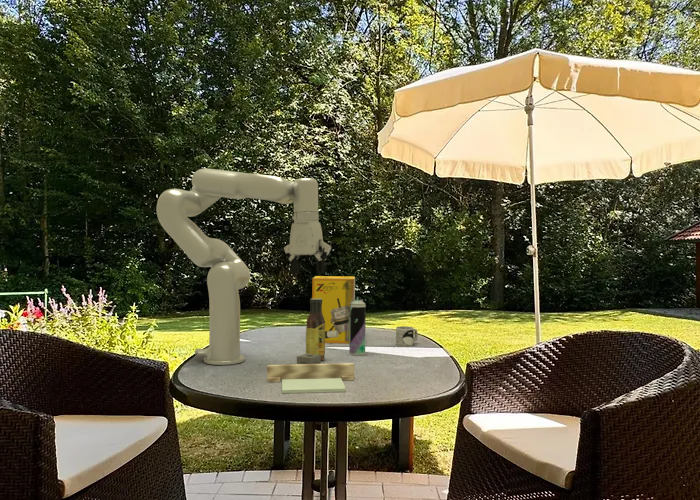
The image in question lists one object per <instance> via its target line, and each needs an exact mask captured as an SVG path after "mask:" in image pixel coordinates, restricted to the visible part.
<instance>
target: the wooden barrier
mask: <svg viewBox="0 0 700 500" xmlns="http://www.w3.org/2000/svg"><path fill="white" fill-rule="evenodd" d="M266 370H267V371H266V381H268V383H280V382H281V381H282V379H325V378H341V379H342V381H343V382H345V381H354V379H355V363H354V362H351V363H350V362H346V363H321V364H297V363H296V364H267V367H266Z"/></svg>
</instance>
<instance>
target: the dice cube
mask: <svg viewBox="0 0 700 500" xmlns="http://www.w3.org/2000/svg"><path fill="white" fill-rule="evenodd" d="M296 364H322V360H321V355H315V354H308V353H307V354H306V353H304V354H299V355H296Z"/></svg>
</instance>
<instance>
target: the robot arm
mask: <svg viewBox="0 0 700 500" xmlns="http://www.w3.org/2000/svg"><path fill="white" fill-rule="evenodd" d="M318 184H319V183H318V181H317V180H316V179H315V178H312V177H311V178H310V177H304V178H303V177H301V178H297V179H295V180H288V179H285V178H283V177H279V176H276V175H269V174H268V175H267V174H260V173H259V174H258V173H251V172H250V173H247V172H242V171H241V172H240V171H234V170H233V171H231V170H225V169H224V170H223V169H217V168H216V169H215V168H199V169H198V170H196V171H195V172H194V173H193V174H192V176H191V185H192V187H193V188H192V189H191V190H185V189H181V188H169V189H166V190H164V191H163V192H162V193H161V194H160V196H159V197H158V200H157V203H156V215H157V219H158V222H159V224H160V225H161V226H162V228H163V230H164V231H165V232H166V233H167V234H168V236H170V237H171V239H173V241H174V242H175V244H177V246H178V247H179V248H180V249H181V250H182V251H183V253H184V254H185V255H186V256H187V257H188V258H189V260H191V262H192V263H193V264H195V265H196V266H197V267H201V268H210V269H209V271H208V274H207V277H206V285H207V290H208V298H209V305H208V306H209V310H208V311H209V326H208V327H209V334H208V335H209V337H208V339H209V340H208V341H209V346H207V347H205V348H195V349H194V355H195V356H198V357H199V356H205V357H204V359H203V362H204V363H205V364H209V365H214V366H228V365H236V364H240V363H243V362H244V361H245V360H246V359H245V358H246V357H245V355H242V354H240V353H241V351H240V350H241V300H240V294H239V290H241V289H244V288H245V287H246V286H248V285H249V283H250V279H251V273H250V270H249V267H248V266H247V265H246V263H245V262H244V261H243V260H242V259H241V258H240V257H239V256H238V254H236V252H235V251H234V250H233V248H231V247H230V246H229V245H228V244H227V243H226V242H224V241H223V240H221V239H219V238H213V237H209V236H208V235H206V234H205V233H204V232H203V230H201V229H200V227H199V226H198V225H197V224H196V223H195V222H194V221H193V220H191V219H190V218H191V217H196V216H198V215H200V214H201V213H203V212H204V211H206V209H207V210H208V208H209V207H211V206H212V205H213V204H214V203H216V202H218V201H219V200H220V199H221V198H227V199H235V200H242V199H255V200H264V201H270V202H275V203H279V204H281V205H288V204H293V212H294V213H293V215H292V216H291V219H292V221H293V223H291V229H290V235H289V243H288V244H287V245H286V246H284V247H283V250H284V252H285V256H286V257H287V258H288V261H289V262H290V273H291V275H296V274H297V275H298V274H300V262H299V260H298V259H299V258H300V256H313V255H314V257H315V258H316V259H317V260H316V262H315V268H316V275H323V274H325V268H326V267H325V261H326V260H327V258H328V257H329V255H330V252H331V250H332V246H331V245H329V244H328V243H327V242H325V241H324V239H323V238H324V236H323V230H322V226H321V225H322V224H321V222H319V185H318ZM189 217H190V218H189Z"/></svg>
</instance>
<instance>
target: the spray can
mask: <svg viewBox="0 0 700 500" xmlns="http://www.w3.org/2000/svg"><path fill="white" fill-rule="evenodd" d="M366 308H367V305H366V303H365V302H364V301H363V300H362V298H361V296H359V295H358V296H357V295H355V300H354V301H353V302H351V303H350V343H348V345H349V349H348V350H349V352H348V353H349V355H350V356H353V357H354V356H356V357H359V356H361V355H362V356H366V317H367V316H366Z"/></svg>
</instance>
